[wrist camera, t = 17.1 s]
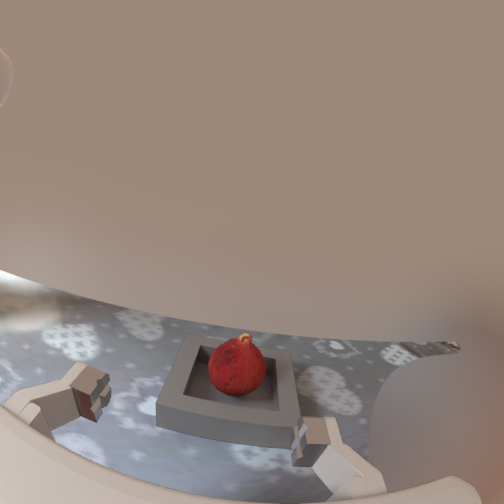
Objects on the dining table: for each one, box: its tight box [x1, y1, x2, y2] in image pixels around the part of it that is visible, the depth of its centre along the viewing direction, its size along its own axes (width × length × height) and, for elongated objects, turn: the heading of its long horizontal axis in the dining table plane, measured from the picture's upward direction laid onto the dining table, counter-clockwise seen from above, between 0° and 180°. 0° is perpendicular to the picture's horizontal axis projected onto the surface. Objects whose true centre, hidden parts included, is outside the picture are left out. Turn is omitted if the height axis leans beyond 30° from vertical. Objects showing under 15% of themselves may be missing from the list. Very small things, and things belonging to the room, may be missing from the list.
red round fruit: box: [208, 333, 266, 396], centre depth 26 cm, size 6×6×8 cm
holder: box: [156, 333, 301, 449], centre depth 27 cm, size 13×13×4 cm
